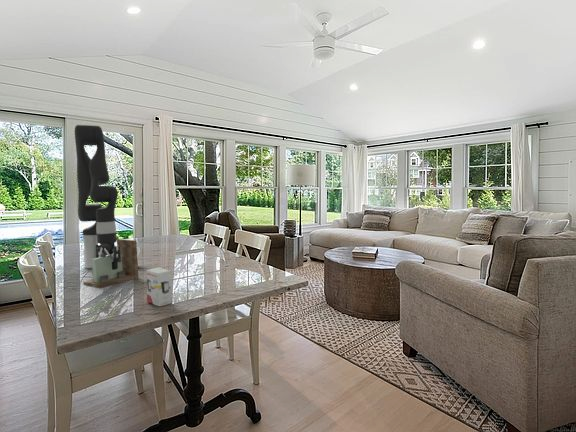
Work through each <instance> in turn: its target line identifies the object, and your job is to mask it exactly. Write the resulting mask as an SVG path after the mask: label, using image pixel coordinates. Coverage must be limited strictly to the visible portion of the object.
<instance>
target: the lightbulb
mask: <svg viewBox="0 0 576 432" xmlns="http://www.w3.org/2000/svg"><path fill="white" fill-rule="evenodd" d="M140 253H141V249H140V247H139V246H138V245H137V259H138V257H139V255H140Z"/></svg>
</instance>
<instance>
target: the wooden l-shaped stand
mask: <svg viewBox="0 0 576 432" xmlns="http://www.w3.org/2000/svg"><path fill="white" fill-rule="evenodd" d="M116 246H120V254H121V256H122V271H121V272H117V275H118V277H117V278H113V279H110V280H109V279H108V275H104V276H100V282H98V283H95V282H93V278H92V279H89V280H83V285H85V286H90V287H93V286H94V288H100V289H102V288H105V287H109V286H113V285H116V284H119V283H124V282H127V281H130V280H134V279H138V278H139V265H138V262H139V261H138V258H137V246H138V244H137V240H136V239H126V238H117V241H116Z"/></svg>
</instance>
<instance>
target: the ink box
mask: <svg viewBox="0 0 576 432" xmlns="http://www.w3.org/2000/svg"><path fill="white" fill-rule="evenodd" d="M171 274H172V273H171V271H170V270H168V269H165V268H163V267H154V268H150V269H146V296H147V297H146V301H147V303H150V304H152V305H155V306H156V307H162V306H166V305H169V304H172V286H171V285H172V282H171V277H172V276H171Z"/></svg>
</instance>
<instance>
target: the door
mask: <svg viewBox="0 0 576 432" xmlns="http://www.w3.org/2000/svg"><path fill="white" fill-rule="evenodd" d="M117 257H118V254H117ZM113 258H114V257H113ZM117 262H118V269H115V270H112V260H111V258H110V257H108V255H106V256H105V257H100V258H95V259H92V268H91V269H92V279H93V282H95V283H98V282H100V276H104V275H108V279H109V280H110V279H113V278H117V277H118V275H117V272H121V271H122V256H121V259H119V260H118V261H117Z"/></svg>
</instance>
